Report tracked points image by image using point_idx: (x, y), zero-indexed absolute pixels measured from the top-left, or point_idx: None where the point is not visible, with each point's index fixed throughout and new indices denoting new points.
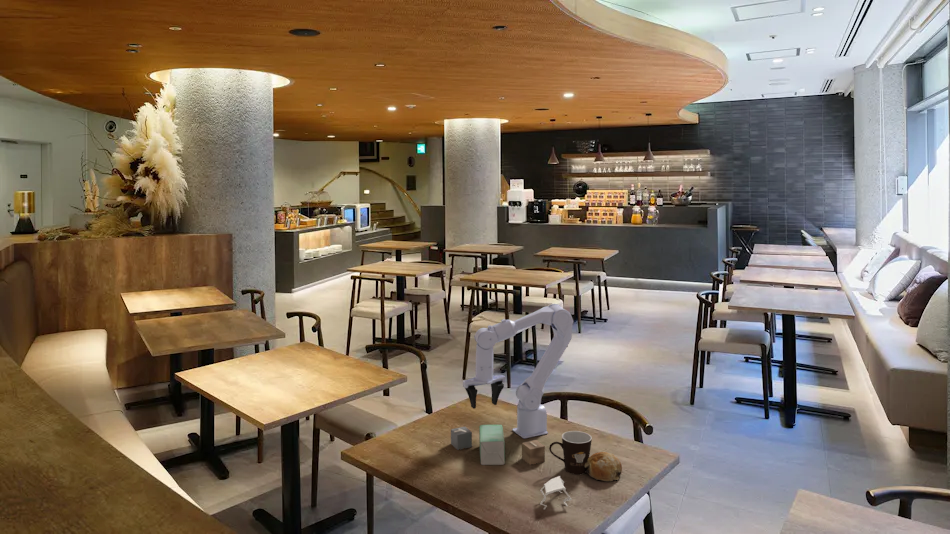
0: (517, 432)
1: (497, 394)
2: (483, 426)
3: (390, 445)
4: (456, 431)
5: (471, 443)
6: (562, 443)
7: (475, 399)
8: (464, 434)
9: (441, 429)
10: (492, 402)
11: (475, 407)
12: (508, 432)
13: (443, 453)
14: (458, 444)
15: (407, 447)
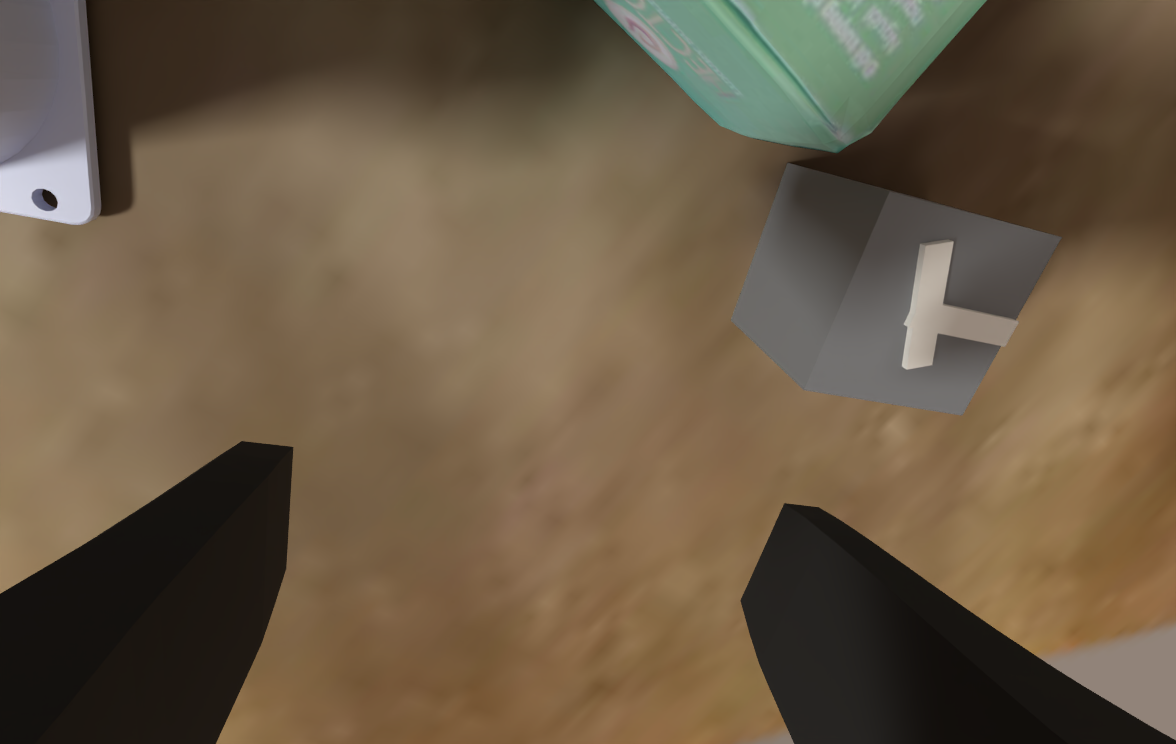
0: (70, 67)
1: (41, 661)
2: (886, 25)
3: (1111, 550)
4: (999, 318)
5: (809, 170)
6: None
7: (982, 654)
8: (971, 213)
9: (704, 597)
10: (279, 566)
11: (805, 511)
12: (182, 202)
13: (1050, 222)
14: (957, 208)
15: (1088, 473)
